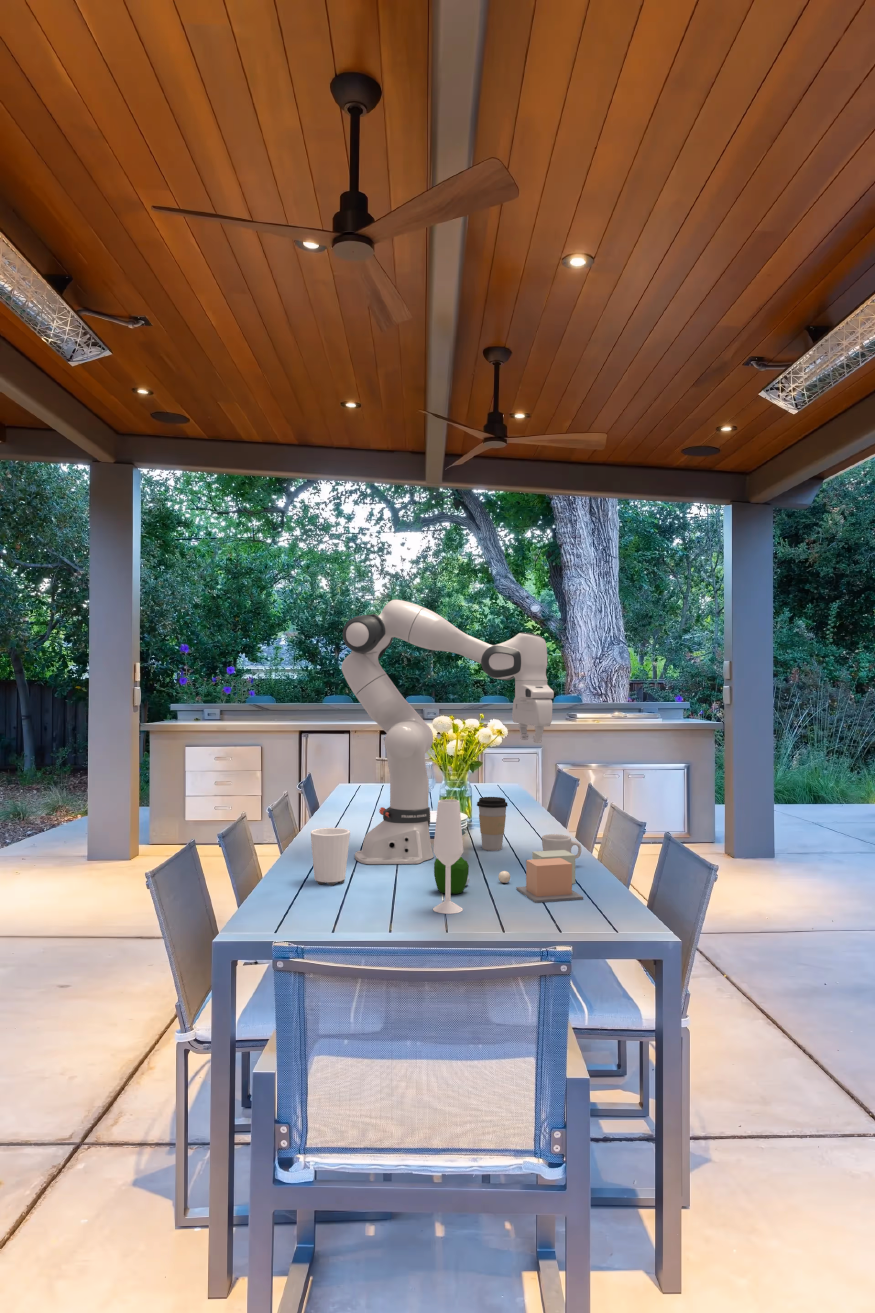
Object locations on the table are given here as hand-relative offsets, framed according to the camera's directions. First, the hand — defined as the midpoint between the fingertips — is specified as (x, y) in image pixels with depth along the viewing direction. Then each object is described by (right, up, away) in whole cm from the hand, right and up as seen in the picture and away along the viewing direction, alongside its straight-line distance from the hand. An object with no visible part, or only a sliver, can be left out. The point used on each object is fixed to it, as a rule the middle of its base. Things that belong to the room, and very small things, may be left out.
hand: (530, 741), depth 225 cm
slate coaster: (+1, -33, -31) cm, 45 cm away
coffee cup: (-9, -35, +21) cm, 41 cm away
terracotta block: (+1, -33, -30) cm, 45 cm away
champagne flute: (-23, -33, -44) cm, 60 cm away
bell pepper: (-22, -34, -29) cm, 50 cm away
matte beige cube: (+4, -34, -18) cm, 39 cm away
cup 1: (-53, -33, -21) cm, 66 cm away
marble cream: (-8, -32, -20) cm, 38 cm away
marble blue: (-19, -33, -24) cm, 45 cm away
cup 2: (+8, -34, -1) cm, 35 cm away
